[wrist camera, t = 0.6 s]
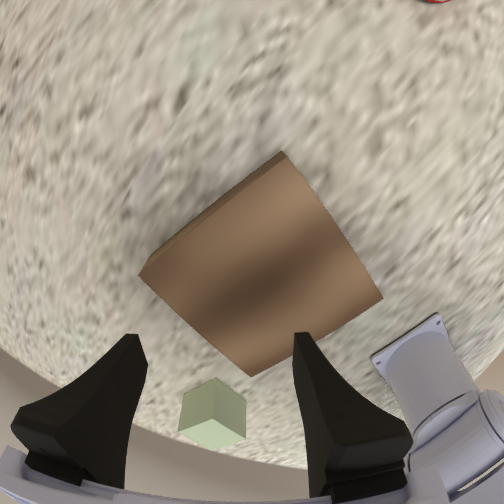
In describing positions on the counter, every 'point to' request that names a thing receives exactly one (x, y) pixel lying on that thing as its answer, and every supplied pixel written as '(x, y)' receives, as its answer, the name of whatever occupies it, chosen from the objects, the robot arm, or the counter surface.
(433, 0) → the beer can
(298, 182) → the walnut block
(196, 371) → the counter surface
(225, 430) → the sage cube
